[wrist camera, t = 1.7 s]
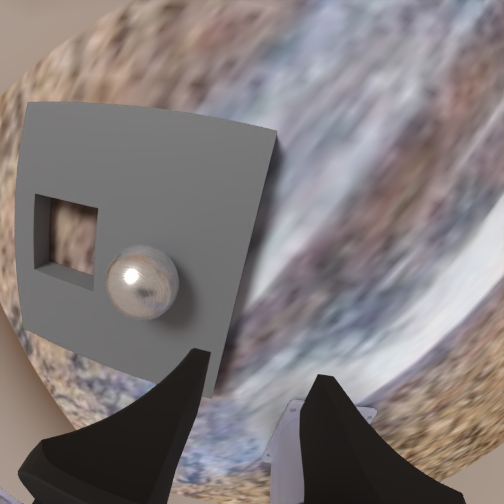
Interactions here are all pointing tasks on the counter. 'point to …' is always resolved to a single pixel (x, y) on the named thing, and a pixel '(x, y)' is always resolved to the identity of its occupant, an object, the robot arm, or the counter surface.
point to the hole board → (138, 225)
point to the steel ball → (142, 282)
